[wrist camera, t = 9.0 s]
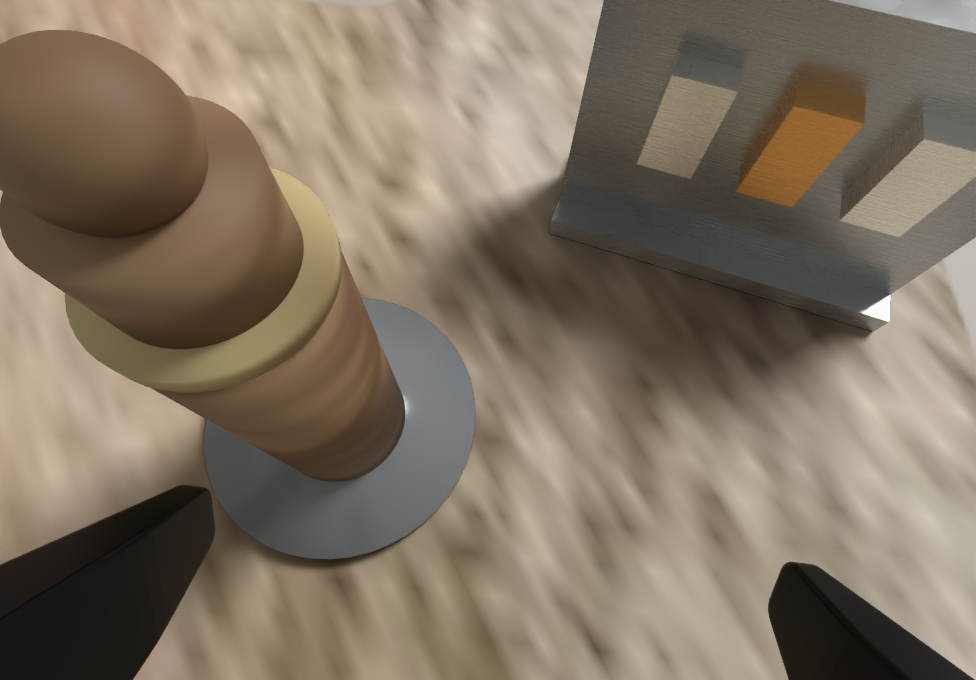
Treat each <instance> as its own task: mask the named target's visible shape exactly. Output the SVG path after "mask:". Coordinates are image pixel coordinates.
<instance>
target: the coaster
mask: <svg viewBox="0 0 976 680" xmlns="http://www.w3.org/2000/svg"><path fill="white" fill-rule="evenodd" d="M362 301H363V303H364V305H365V308H366V310H367V313H368V315H369V317H370V320H371V322H372V324H373V327H374V329H375V331H376V334H377V336H378V338H379V341H380V343H381V345H382V348H383V350H384V353H385V355H386V357H387V360H388V362H389V364H390V367H391V369H392V371H393V374H394V376H395V378H396V381H397V383H398V385H399V388H400V390H401V393H402V395H403V399H404V403H405V423H404V428H403V432H402V435H401V437H400V439H399V441H398V444H397V445H396V447H395V448H394V450H393V452H392V453H391V454H390V455H389V456H388V458H387V459H386V460H385V461H384V462H383V463H381V464H380V465H379V466H378V467H376V468H375V469H374V470H372V471H370V472H369V473H367V474H365V475H363V476H360V477H358V478H355V479H351V480H348V481H341V482H328V481H321V480H317V479H314V478H311V477H309V476H307V475H305V474H303V473H301V472H299V471H298V470H296V469H294V468H292V467H290V466H289V465H287V464H285V463H283V462H282V461H280V460H278V459H276V458H274V457H273V456H271V455H269V454H267V453H266V452H264V451H262V450H260V449H259V448H257V447H255V446H253V445H251V444H250V443H248V442H246V441H244V440H243V439H241V438H239V437H237V436H235V435H234V434H232V433H230V432H228V431H227V430H225V429H223V428H221V427H219V426H218V425H216V424H214V423H212V422H211V421H209V420H207V419H206V426H205V433H204V455H205V462H206V469H207V472H208V476H209V479H210V482H211V486H212V488H213V490H214V492H215V494H216V496H217V498H218V501H219V502H220V504H221V505H222V507H223V508H224V510H225V511H226V513H227V514H228V515H229V517H230V518H231V519H232V520H233V521H234V522H235V523H236V524H237V525H238V526H239V527H240V528H241V529H242V530H243V531H244V532H246V533H247V534H248V535H250V536H251V537H252V538H254V539H255V540H257V541H258V542H260V543H262V544H264V545H266V546H268V547H270V548H272V549H274V550H277V551H280V552H283V553H286V554H289V555H293V556H299V557H304V558H310V559H342V558H351V557H356V556H360V555H364V554H368V553H372V552H374V551H377V550H380V549H382V548H385V547H387V546H390V545H392V544H393V543H395V542H397V541H399V540H401V539H402V538H404V537H406V536H408V535H409V534H410V533H412V532H413V531H414V530H416V529H417V528H418V527H420V526H421V525H423V524H424V523H425V522H426V521H427V520H428V519H429V518H430V517H431V516H432V515H433V514H434V513H435V512H436V511H437V510H438V509H439V508H440V507H441V505H442V504H443V503H444V502H445V500H446V499H447V498H448V497H449V495H450V494H451V492H452V491H453V489H454V487H455V486H456V484H457V483H458V481H459V479H460V477H461V475H462V473H463V470H464V468H465V466H466V464H467V461H468V457H469V454H470V451H471V448H472V443H473V437H474V431H475V402H474V393H473V388H472V384H471V380H470V377H469V374H468V372H467V369H466V366H465V364H464V362H463V360H462V358H461V357H460V355H459V353H458V351H457V350H456V348H455V347H454V346H453V344H452V343H451V342H450V340H449V339H448V338H447V337H446V336H445V335H444V334H443V333H442V332H441V331H440V330H439V329H438V328H437V327H436V326H435V325H433V324H432V323H431V322H429V321H428V320H427V319H426V318H424V317H422V316H420V315H419V314H417V313H415V312H413V311H412V310H409V309H407V308H404V307H402V306H400V305H397V304H393V303H389V302H386V301H381V300H375V299H368V298H362Z"/></svg>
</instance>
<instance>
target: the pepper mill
mask: <svg viewBox="0 0 976 680" xmlns="http://www.w3.org/2000/svg"><path fill="white" fill-rule="evenodd" d="M0 189H1V190H2V191H3V195H2V198H1V203H0V227H1V232H2V236H3V238H4V240H5V242H6V244H7V246H8V248H9V249H10V251H11V252H12V253H13V254H14V256H15V257H16V258H17V259H18V260H19V261H20V262H22V263H23V264H24V265H25V266H26V267H28V268H29V269H31V270H32V271H34V272H35V273H37V274H38V275H40V276H41V277H43V278H44V279H45V280H47V281H48V282H50V283H51V284H53V285H54V286H56V287H57V288H59V289H60V290H62V291H63V292H65V302H66V312H67V315H68V319H69V322H70V326H71V328H72V330H73V332H74V334H75V336H76V338H77V339H78V340H79V342H80V343H81V344H82V346H83V347H84V348H85V349H86V350H87V351H88V352H89V353H90V354H91V355H92V356H93V357H94V358H95V359H97V360H98V361H99V362H101V363H103V364H104V365H106V366H107V367H109V368H111V369H112V370H114V371H116V372H118V373H120V374H121V375H123V376H125V377H127V378H129V379H130V380H132V381H135V382H137V383H140V384H142V385H144V386H147V387H150V388H152V389H154V390H156V391H157V392H159V393H161V394H163V395H164V396H166V397H168V398H170V399H172V400H173V401H175V402H177V403H179V404H180V405H182V406H184V407H186V408H188V409H189V410H191V411H193V412H195V413H196V414H198V415H200V416H202V417H204V418H205V419H207V420H209V421H211V422H212V423H214V424H216V425H218V426H219V427H221V428H223V429H225V430H227V431H228V432H230V433H232V434H234V435H235V436H237V437H239V438H241V439H243V440H244V441H246V442H248V443H250V444H251V445H253V446H255V447H257V448H259V449H260V450H262V451H264V452H266V453H267V454H269V455H271V456H273V457H274V458H276V459H278V460H280V461H282V462H283V463H285V464H287V465H289V466H290V467H292V468H294V469H296V470H298V471H299V472H301V473H303V474H305V475H307V476H309V477H311V478H314V479H317V480H321V481H328V482H341V481H348V480H351V479H355V478H358V477H360V476H363V475H365V474H367V473H369V472H370V471H372V470H374V469H375V468H376V467H378V466H379V465H380V464H381V463H383V462H384V461H385V460H386V459H387V458H388V456H389V455H390V454H391V453H392V452H393V450H394V448H395V447H396V445H397V444H398V441H399V439H400V437H401V435H402V432H403V428H404V423H405V403H404V399H403V395H402V393H401V390H400V388H399V385H398V383H397V381H396V378H395V376H394V374H393V371H392V369H391V367H390V364H389V362H388V360H387V357H386V355H385V353H384V350H383V348H382V345H381V343H380V341H379V338H378V336H377V334H376V331H375V329H374V327H373V324H372V322H371V320H370V317H369V315H368V313H367V310H366V308H365V305H364V303H363V301H362V298H361V296H360V294H359V291H358V289H357V287H356V284H355V282H354V280H353V277H352V275H351V273H350V270H349V268H348V265H347V263H346V261H345V258H344V256H343V254H342V251H341V247H340V242H339V240H338V237H337V234H336V232H335V229H334V227H333V224H332V222H331V220H330V217H329V215H328V213H327V211H326V209H325V208H324V206H323V204H322V203H321V201H320V200H319V199H318V198H317V197H316V195H315V194H314V193H313V192H312V191H311V190H310V189H308V188H307V187H306V186H305V185H304V184H302V183H301V182H299V181H298V180H296V179H295V178H293V177H291V176H289V175H287V174H285V173H283V172H281V171H278V170H275V169H272V168H269V166H268V164H267V162H266V160H265V158H264V156H263V154H262V152H261V150H260V148H259V146H258V144H257V142H256V140H255V139H254V137H253V135H252V133H251V131H250V130H249V128H248V127H247V126H246V125H245V123H244V122H243V121H242V120H241V119H239V118H238V117H237V116H236V115H235V114H234V113H232V112H231V111H229V110H227V109H226V108H224V107H222V106H220V105H218V104H216V103H214V102H211V101H208V100H204V99H201V98H197V97H192V96H187V95H185V94H184V92H183V91H182V90H181V88H180V87H179V86H178V85H177V84H176V83H175V82H174V81H173V80H172V79H171V78H170V77H169V76H168V75H167V74H166V73H165V72H164V71H163V70H161V69H160V68H159V67H158V66H157V65H156V64H154V63H153V62H151V61H150V60H148V59H147V58H145V57H144V56H142V55H141V54H139V53H137V52H136V51H134V50H132V49H130V48H128V47H126V46H124V45H122V44H120V43H117V42H115V41H112V40H109V39H106V38H103V37H100V36H97V35H93V34H88V33H83V32H78V31H69V30H45V31H37V32H32V33H27V34H24V35H21V36H18V37H15V38H13V39H10V40H8V41H6V42H4V43H2V44H1V45H0Z"/></svg>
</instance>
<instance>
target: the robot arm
mask: <svg viewBox="0 0 976 680" xmlns="http://www.w3.org/2000/svg"><path fill="white" fill-rule="evenodd" d="M214 535H215V524H214V515H213V506H212V498H211V493H210V491H209V490H208V489H207V488H204V487H198V486H190V485H180V486H177V487H175V488H173V489H170V490H168V491H166V492H163V493H161V494H159V495H157V496H154V497H152V498H150V499H148V500H145V501H143V502H141V503H139V504H136V505H134V506H132V507H130V508H127V509H125V510H123V511H121V512H118V513H116V514H114V515H112V516H109V517H107V518H105V519H102V520H100V521H98V522H96V523H93V524H91V525H89V526H87V527H84V528H82V529H80V530H78V531H75V532H73V533H71V534H69V535H66V536H64V537H62V538H60V539H57V540H55V541H53V542H50V543H48V544H46V545H44V546H41V547H39V548H37V549H35V550H32V551H30V552H28V553H26V554H23V555H21V556H19V557H17V558H14V559H12V560H10V561H8V562H5V563H3V564H1V565H0V680H133V679H134V677H135V676H136V674H137V673H138V671H139V670H140V668H141V667H142V665H143V664H144V662H145V661H146V659H147V658H148V656H149V655H150V653H151V652H152V650H153V649H154V647H155V645H156V644H157V642H158V641H159V639H160V637H161V636H162V634H163V632H164V630H165V629H166V627H167V625H168V623H169V622H170V620H171V618H172V616H173V614H174V612H175V611H176V609H177V607H178V605H179V603H180V601H181V600H182V598H183V596H184V594H185V592H186V590H187V589H188V587H189V585H190V583H191V581H192V580H193V578H194V576H195V574H196V572H197V570H198V569H199V567H200V565H201V563H202V561H203V559H204V558H205V556H206V554H207V552H208V550H209V548H210V546H211V544H212V542H213V539H214ZM768 613H769V618H770V622H771V625H772V628H773V631H774V634H775V638H776V641H777V644H778V647H779V650H780V654H781V657H782V660H783V663H784V666H785V669H786V673H787V676H788V679H789V680H974V679H973V678H972V677H970V676H969V675H967V674H966V673H965V672H963V671H962V670H961V669H959V668H958V667H956V666H955V665H954V664H952V663H951V662H949V661H948V660H947V659H945V658H944V657H943V656H941V655H940V654H938V653H937V652H936V651H934V650H933V649H932V648H930V647H929V646H927V645H926V644H925V643H923V642H922V641H920V640H919V639H918V638H916V637H915V636H914V635H912V634H911V633H909V632H908V631H907V630H905V629H904V628H902V627H901V626H900V625H898V624H897V623H896V622H894V621H893V620H891V619H890V618H889V617H887V616H886V615H884V614H883V613H882V612H880V611H879V610H878V609H876V608H875V607H873V606H872V605H871V604H869V603H868V602H867V601H865V600H864V599H862V598H861V597H860V596H858V595H857V594H855V593H854V592H853V591H851V590H850V589H849V588H847V587H846V586H844V585H843V584H842V583H840V582H839V581H837V580H836V579H835V578H833V577H832V576H831V575H829V574H828V573H826V572H825V571H824V570H822V569H821V568H819V567H818V566H815V565H812V564H806V563H798V562H787V563H786V564H784V565H783V567H782V569H781V571H780V573H779V576H778V579H777V581H776V584H775V586H774V589H773V591H772V594H771V597H770V599H769V604H768Z"/></svg>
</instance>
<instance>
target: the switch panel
mask: <svg viewBox="0 0 976 680" xmlns="http://www.w3.org/2000/svg"><path fill="white" fill-rule="evenodd" d="M549 233H551V234H554V235H558V236H561V237H564V238H567V239H571V240H574V241H577V242H581V243H584V244H587V245H591V246H594V247H597V248H600V249H604V250H607V251H610V252H614V253H617V254H620V255H623V256H627V257H630V258H633V259H637V260H640V261H643V262H647V263H650V264H653V265H656V266H660V267H663V268H666V269H670V270H673V271H676V272H679V273H683V274H686V275H689V276H693V277H696V278H699V279H703V280H706V281H709V282H712V283H716V284H719V285H722V286H726V287H729V288H732V289H735V290H739V291H742V292H745V293H749V294H752V295H755V296H759V297H762V298H765V299H768V300H772V301H775V302H778V303H782V304H785V305H788V306H791V307H795V308H798V309H801V310H805V311H808V312H811V313H815V314H818V315H821V316H824V317H828V318H831V319H834V320H838V321H841V322H844V323H847V324H851V325H854V326H857V327H861V328H864V329H867V330H871V331H875V330H877V329H878V328H880V327H881V326H883V325H885V324H886V323H888V322H889V317H890V294H892V293H893V292H895V291H896V290H898V289H899V288H901V287H902V286H904V285H905V284H907V283H908V282H910V281H911V280H913V279H914V278H916V277H917V276H919V275H920V274H922V273H923V272H925V271H926V270H928V269H929V268H931V267H932V266H934V265H935V264H937V263H938V262H939V261H941V260H942V259H944V258H945V257H947V256H948V255H950V254H951V253H953V252H954V251H956V250H957V249H959V248H960V247H962V246H963V245H965V244H966V243H968V242H969V241H971V240H972V239H974V238H975V237H976V0H604V2H603V7H602V11H601V16H600V20H599V25H598V29H597V34H596V38H595V42H594V47H593V51H592V56H591V60H590V65H589V69H588V74H587V78H586V83H585V87H584V92H583V96H582V101H581V105H580V110H579V114H578V119H577V123H576V127H575V132H574V136H573V141H572V145H571V150H570V154H569V159H568V163H567V168H566V172H565V177H564V181H563V186H562V190H561V195H560V199H559V201H558V204H557V206H556V209H555V212H554V214H553V217H552V219H551V223H550V228H549Z"/></svg>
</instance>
